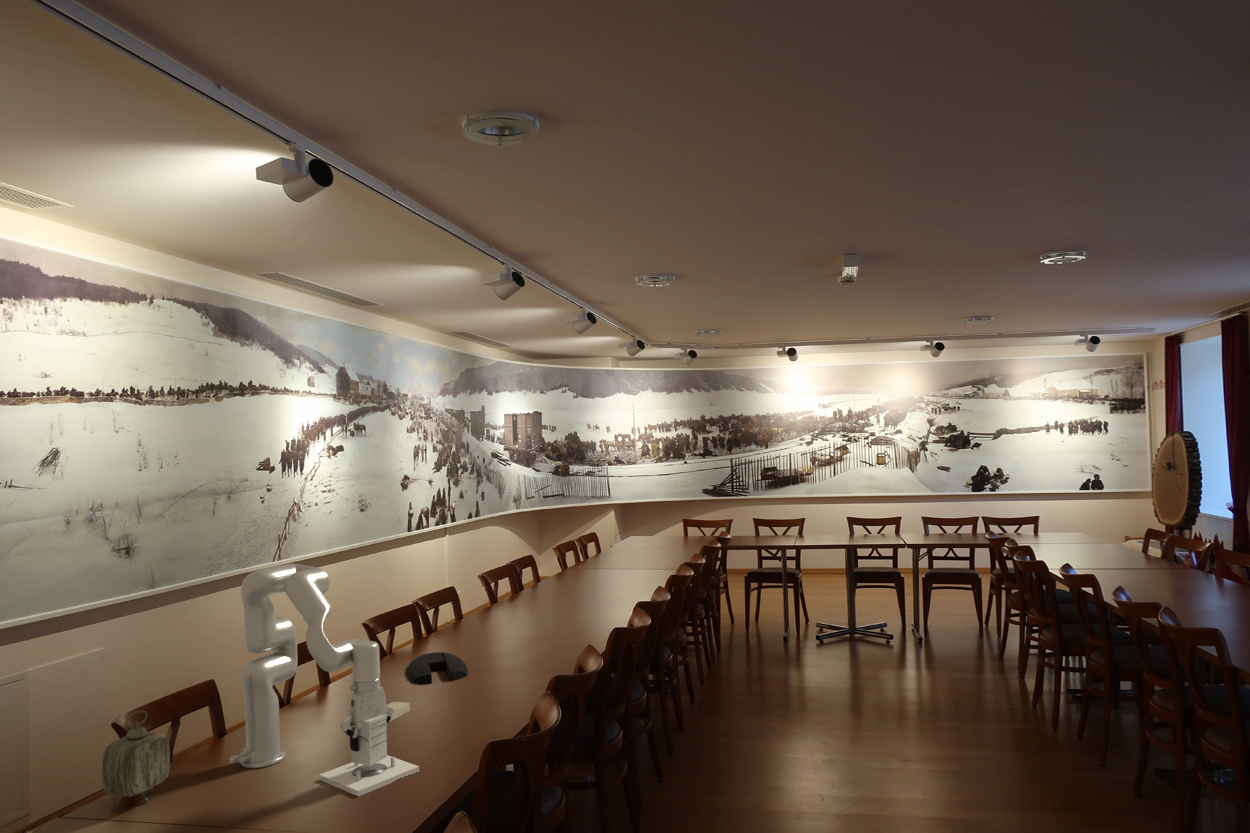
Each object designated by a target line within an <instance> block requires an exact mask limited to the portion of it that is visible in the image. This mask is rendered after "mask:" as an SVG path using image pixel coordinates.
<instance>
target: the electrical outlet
mask: <svg viewBox="0 0 1250 833" xmlns="http://www.w3.org/2000/svg"><path fill="white" fill-rule="evenodd" d="M386 705H387V707H389V708H391V709H393V710H394V711H393V714H392V716H391V719H390V721H389V723H390V722H393V721H394V720H396V719H398V718H400V717H401V716H403V715H404V714H406V713H409V712H410V711H411V704H410V702H401V701H392V702H390V703H388V704H386Z"/></svg>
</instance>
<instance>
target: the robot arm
mask: <svg viewBox="0 0 1250 833" xmlns="http://www.w3.org/2000/svg"><path fill="white" fill-rule="evenodd" d="M330 578H331V577H330V576H329V574H328V573H327V572H326V571H325V570H324V569H322V568H320V567H316V566H311V565H305V564H301V563H300V564H299V563H286V564H281V565H276V566H275V565H274V566H269V567H263V568H260V569H257V570H254V571H252V572H251V573H249V574H248V575H246V577H245V578H244V579H243V581H242V584H241V585H240V595H241V602H242V605H243V613H244V614H243V615H244V618H243V619H244V620H243V621H244V642H245V647H246V650H247V651H248V652H249V653H250V654H253V655H259V654H264V653H267V652H271V651H272V653H269V654H265V655H263V656H258V657H257V658H254V659H252V660H250V661H248V662H247V663H246V664H244V666H243V667H242V670H241V672H240V680H241V685H242V690H243V695H244V707H245V708H244V712H245V714H244V715H245V741H246V742H245V747H244V748H242V752H240V753H239V754H236V755H235V754H234V755H231V756H230V757H229V762H230V763H231V764H234V763H236V762H238V763H240V765H241V766H242V767H243V768H247V769H248V768H249V769H256V768H257V769H258V768H264V767H269V766H272V765H275V764H278V763H280V762H282V761H283V760H284V759H285V758H286V756H287V754H286V751H285V750H283V749H281V739H280V735H281V734H280V733H281V732H280V730H281V728H280V703H279V702H280V701H279V697H278V695H277V693H276V692H275V689H274V688H273V687H274V685H276V684H280V683H283V682H284V681H288V680H289V679H292V677H294V676H295V674H296V672H297V670H298V639H297V636H298V635H297V628H296V626H295V624H294V622H293V620H292V619H290V618H289V617H286V616H275V607H274V604H273V602H272V600H271V599H270V598H269V596H271V595H276V594H283V593H285V594H286V596H287V597H288V598H289V600H290V602H291V603H292V605H293V606H294V607H295V609H296V610H297V612H298V613H299V616H300V617H301V618H302V619H303V621H304V622H305V625H306V629H305V640H306V642H305V643H306V647H307V650H308V652H309V653H310V655H311V656H312V658H313V659H314V661H315V662H316V664H317V665H318V666H319V667H320V668H321V669H322V670H323V671H325V672H329V673H331V672H332V673H333V672H337V671H338V670H339V671H340V670H341V669H343V668H347V667H349V666H350V667H351V666H352V680H353V681H352V685H350V686H349V690H350V691H352V692H351V694H350V700H349V710H348V711H349V713H348V714H349V716H348V717H347V718H346V719H345V720H344V721H343V722H342V723H341V725H340V728H341V730H342V731H343V733H344V734H346V735H347V736H348V737H349V747H350V751H351V750H353V751H356V752H357V751H359V738H358V737H357V735H358V733H359V731H360V729H363V728H364V721H366V720H369V719H372V718H376V717H379V716H382V715H385V714H386V728H388V726H389V723H390V722H391V721H390V719H391V716H392V714H393V711H394V710H393V709H391V708H389V707H387V705H388V704H387V698H386V693H385V690H384V687H383V686H381V660H380V659H381V658H380V644H379V643H378V642H376V641H373V640H366V641H365V640H361V639H359V638H352V637H351V638H348V639H344V640H341V641H338V642H334V643H332V644H331V642H330V641H329V640H328V638H327V637H326V635H325V632H324V622H325V621H327V619H329V617H330V616H331V614H332V613H333V609H334V608H333V606H332V604H331V603H330V602H329V600H328V598H327V597H326V596H325V593H326V592H328V591H329V589H330V586H331V579H330ZM353 720H354V724H355V725H354V724H353V725H351V724H352V721H353ZM389 721H390V722H389ZM349 726H350V727H349ZM351 726H352V727H351ZM354 728H356V729H355V731H354Z"/></svg>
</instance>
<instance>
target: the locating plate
mask: <svg viewBox="0 0 1250 833" xmlns="http://www.w3.org/2000/svg"><path fill="white" fill-rule="evenodd" d="M416 772H417V773H419V772H420V766H419V765H416V764H414V763H410V762H407V761H405V760H402V759H400V758H397V757H395V756H391V755H388V754H387V757H386V758H384V759H382V760H380V761H379V762H377V763H375V764H373V765H371V766H368V765H364V764H359V763H352V762H350V763H347V764H344V765H341V766H339V767H338V766H337V767H336V768H332V769H331V770H328V771H325V772H323V773H319V778H318V779H319V781H322V782H323V783H326V784H328V785H330V786H333V787H335V788H338V789H339V790H342V791H345V792H347V793H348V794H352V795H354V796H357V797H361V796H364V795H366V794H368V793H370V792H373V791H375V790H377V789H380V788H383V787H385V786H388V785H391V784H393V783H395V782H397V781H396V780H398V779H400V778H402V779H404V778H403V777H405V776H407V777H409V776H408V775H410V776H412V775H414V774H413V773H415V774H417V773H416ZM411 774H412V775H411ZM405 778H406V777H405ZM400 780H401V779H400ZM394 781H395V782H394ZM398 781H399V780H398ZM392 782H393V783H392Z"/></svg>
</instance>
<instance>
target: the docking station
mask: <svg viewBox="0 0 1250 833" xmlns="http://www.w3.org/2000/svg"><path fill="white" fill-rule="evenodd" d="M439 671H446V674H447V675H448V678H449V680H450V681H451V682H452V681H456V680H459V679H462V678H463V679H464V678H466V677H467V676H468V666H467V665H466V663H465V661H464V660H463V659H461V658H460V657H459V656H457V655H455V654H453V653H450V652H446V651H441V652H440V651H438V652H436V651H435V652H429V653H423V654H421V655H418V656H416V658H414V659H412V661H410V662H409V664H408V666H407V669H406V676H407V678H408V680H409V681H410V682H411V683H412V684H429V685H431V684H433V677H432V676H433V675H432V672H439Z"/></svg>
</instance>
